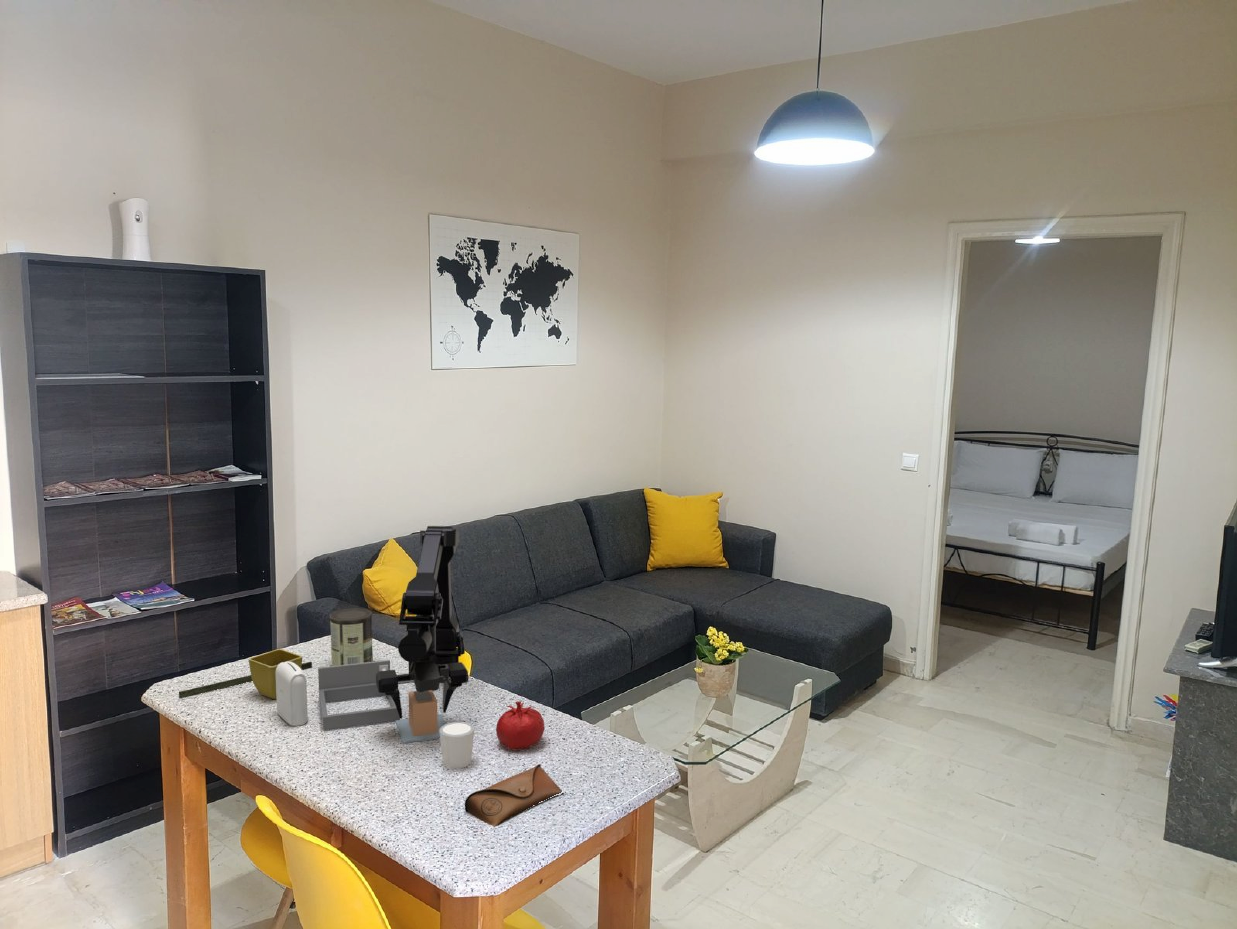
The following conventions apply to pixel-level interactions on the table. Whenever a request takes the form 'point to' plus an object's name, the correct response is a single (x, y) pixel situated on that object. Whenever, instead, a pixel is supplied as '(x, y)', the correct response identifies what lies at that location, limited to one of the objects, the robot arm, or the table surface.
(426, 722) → the block
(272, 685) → the flower pot
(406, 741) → the mat
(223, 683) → the rod
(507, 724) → the pomegranate
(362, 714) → the grey open frame
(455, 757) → the white cup
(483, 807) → the sunglasses case
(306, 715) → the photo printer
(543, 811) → the table surface
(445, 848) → the table surface
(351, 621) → the coffee can
